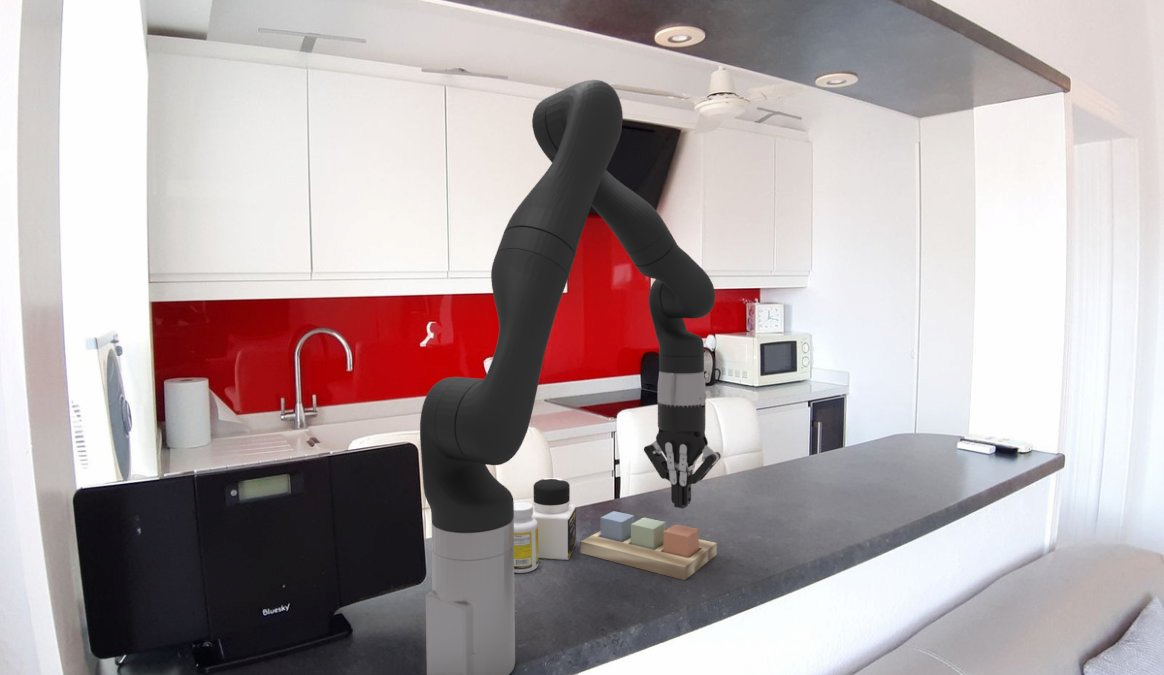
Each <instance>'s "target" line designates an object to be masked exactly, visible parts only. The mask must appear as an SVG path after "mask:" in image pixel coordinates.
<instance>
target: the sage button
mask: <svg viewBox="0 0 1164 675" xmlns="http://www.w3.org/2000/svg"><path fill="white" fill-rule="evenodd" d="M666 524H667V523H666V521H661V520H657V519H653V518H648V517H645V516H644V517H642V518H640V519H638V520H636V521H634V523H632V524H631V545H636V546H640V547H644V548H648V549H652V550H655V549H657V548H658V547H660V546H661V545H663V535H664V531H665V530H667V529H666Z"/></svg>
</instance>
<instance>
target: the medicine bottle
mask: <svg viewBox="0 0 1164 675" xmlns="http://www.w3.org/2000/svg"><path fill="white" fill-rule="evenodd" d="M570 486H571V485H570V483H569V481H567V480H564V479H563V478H557V477H548V478H542V479H539V480H538V481H536V482H534V484H533V515H532V517H533V518H535V519H536V520H537V523H538V559H547V560H562V561H568V560H570V558H571V555H572V553H573V552H574V549H575V547H576V545H577V506H576V504H570V503H571V498H570V496H571V492H570V490H571V489H570V488H571V487H570Z"/></svg>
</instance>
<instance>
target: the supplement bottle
mask: <svg viewBox="0 0 1164 675" xmlns="http://www.w3.org/2000/svg"><path fill="white" fill-rule="evenodd" d="M533 507H534V504H532V503H529V502H523V501H522V502H514V574H515V573H516V574H524V573H529V572H533V571H534V570H537V568H538V567H539V558H538V523H537V520H536V519H535V518H533V517H532V515H533Z"/></svg>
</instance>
